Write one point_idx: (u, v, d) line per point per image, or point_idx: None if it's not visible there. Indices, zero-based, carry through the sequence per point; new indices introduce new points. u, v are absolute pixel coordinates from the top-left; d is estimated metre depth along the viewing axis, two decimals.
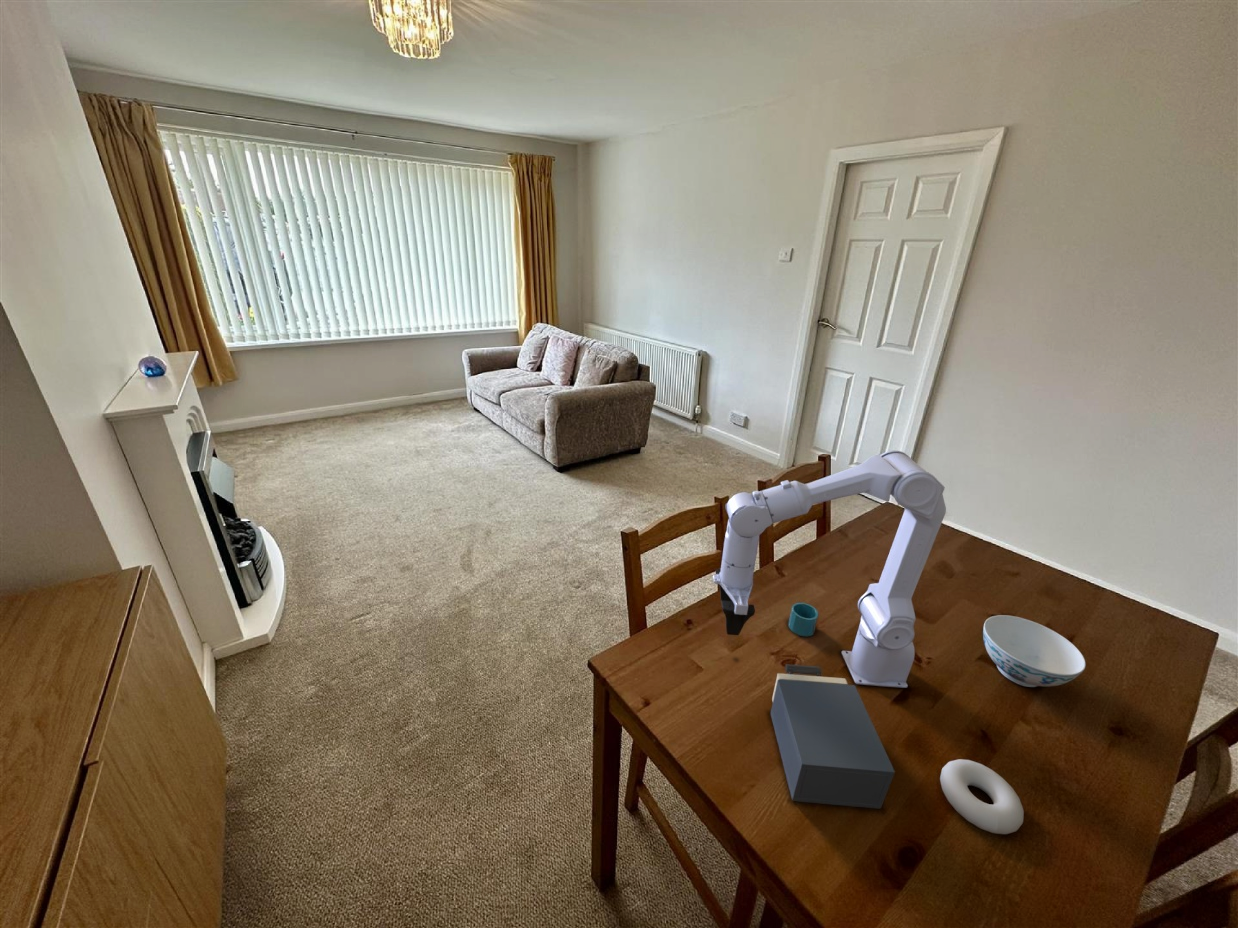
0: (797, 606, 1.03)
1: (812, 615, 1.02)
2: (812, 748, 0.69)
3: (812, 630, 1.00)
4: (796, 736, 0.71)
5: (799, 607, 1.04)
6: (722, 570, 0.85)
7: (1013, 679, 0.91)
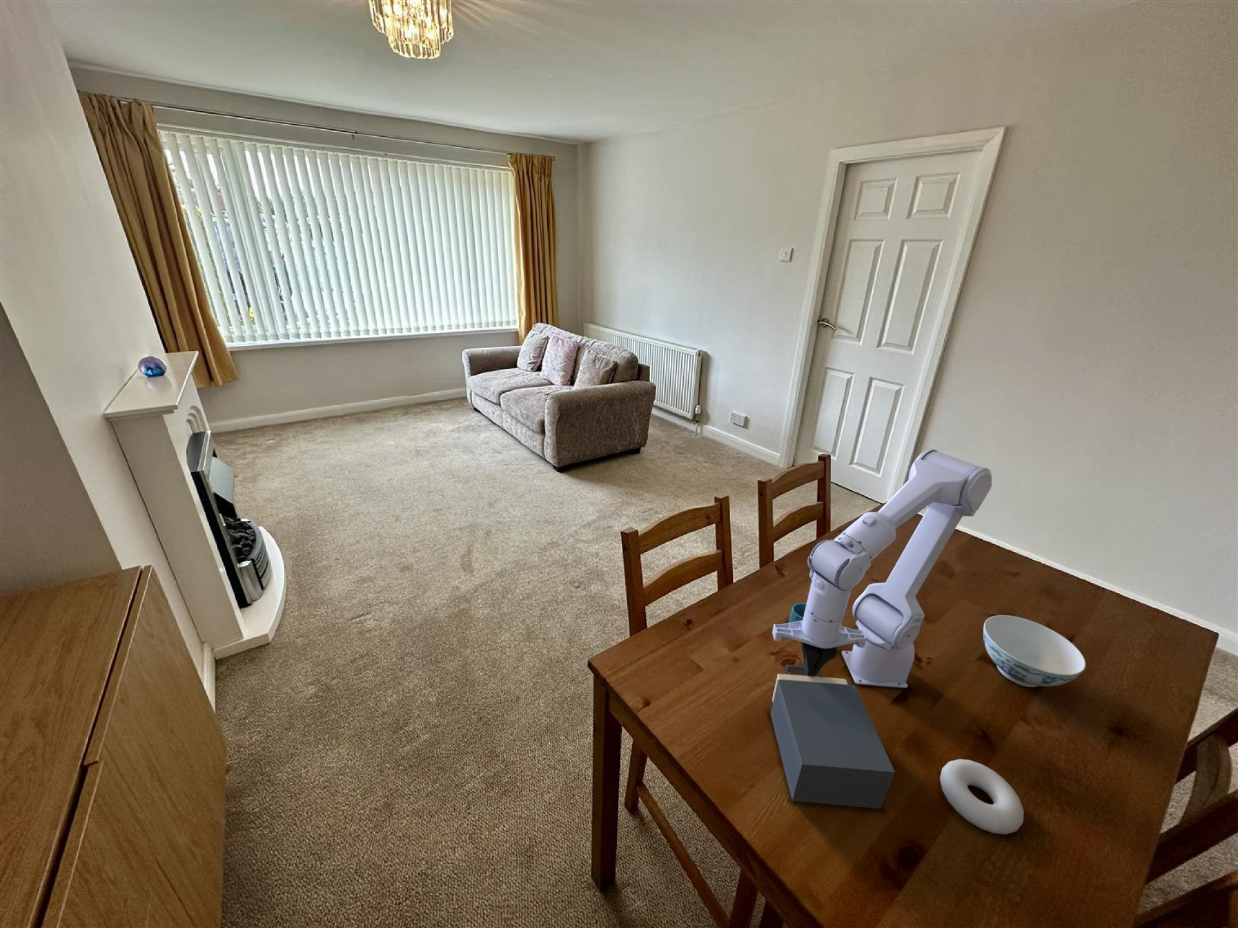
0: (797, 606, 1.03)
1: None
2: (812, 748, 0.69)
3: None
4: (796, 736, 0.71)
5: (799, 607, 1.04)
6: None
7: (1013, 679, 0.91)
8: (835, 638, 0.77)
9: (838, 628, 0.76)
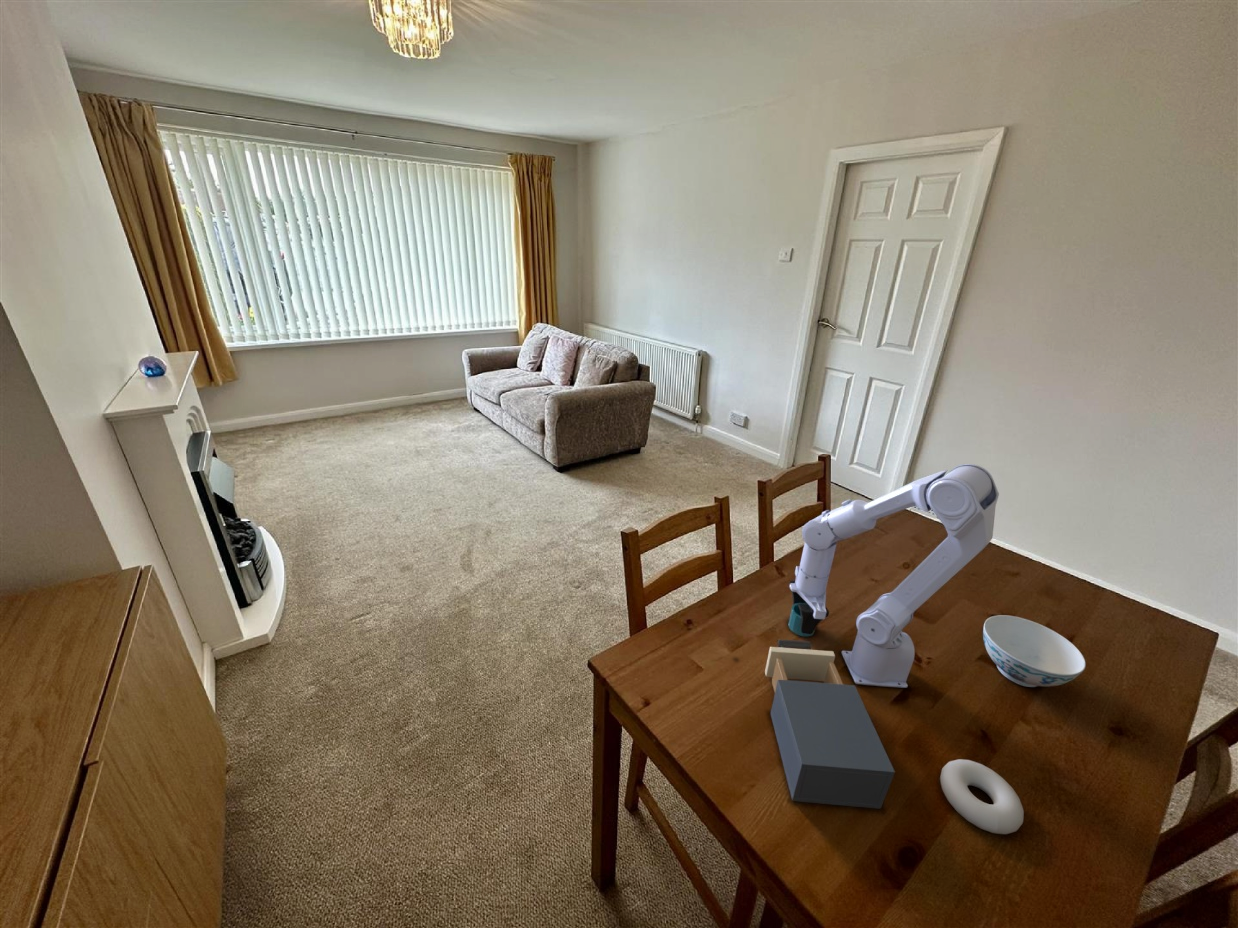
0: (797, 606, 1.03)
1: None
2: (812, 748, 0.69)
3: None
4: (796, 736, 0.71)
5: None
6: (799, 580, 0.97)
7: (1013, 679, 0.91)
8: None
9: None
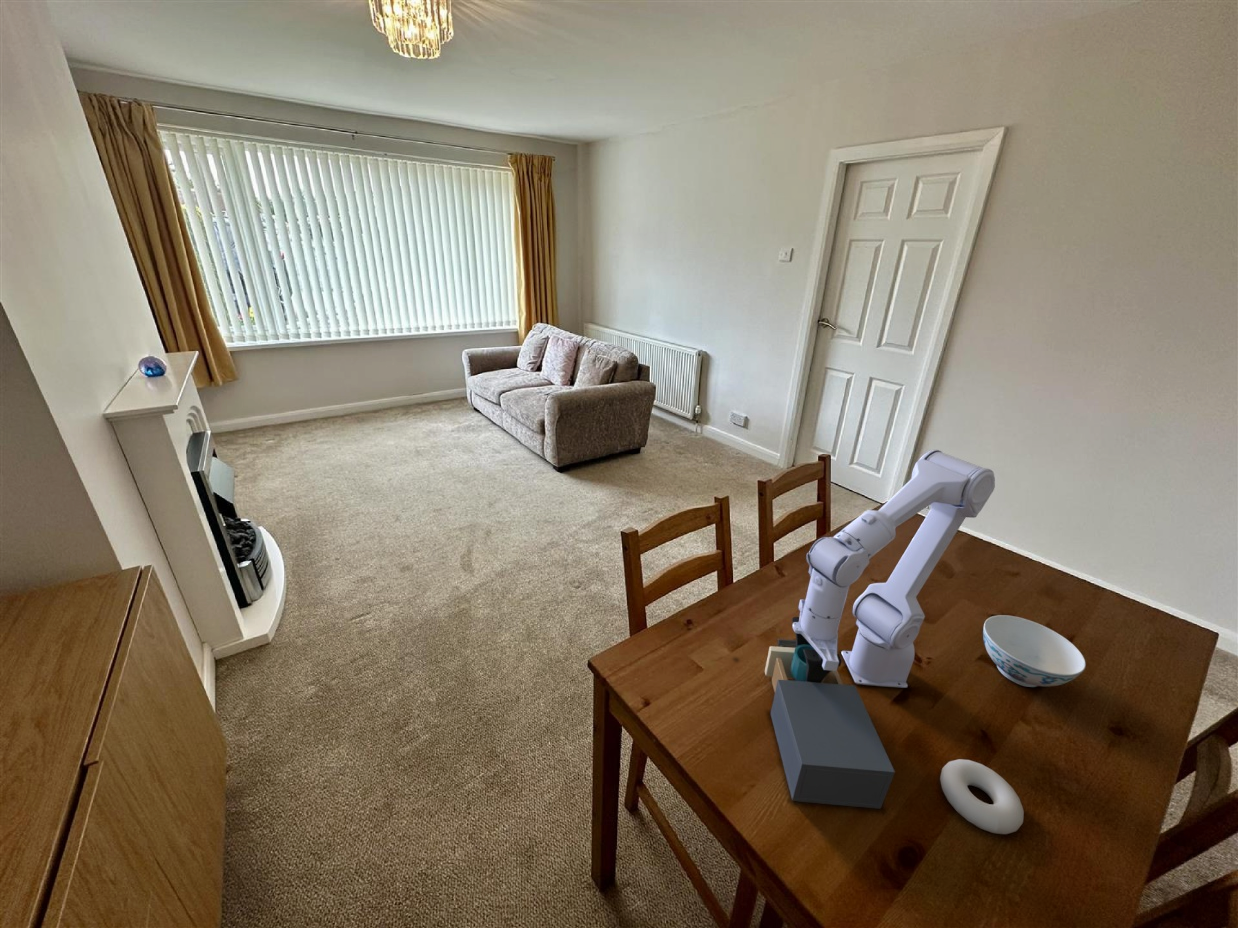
0: (801, 649, 0.85)
1: None
2: (812, 748, 0.69)
3: None
4: (796, 736, 0.71)
5: None
6: (805, 619, 0.79)
7: (1013, 679, 0.91)
8: None
9: None
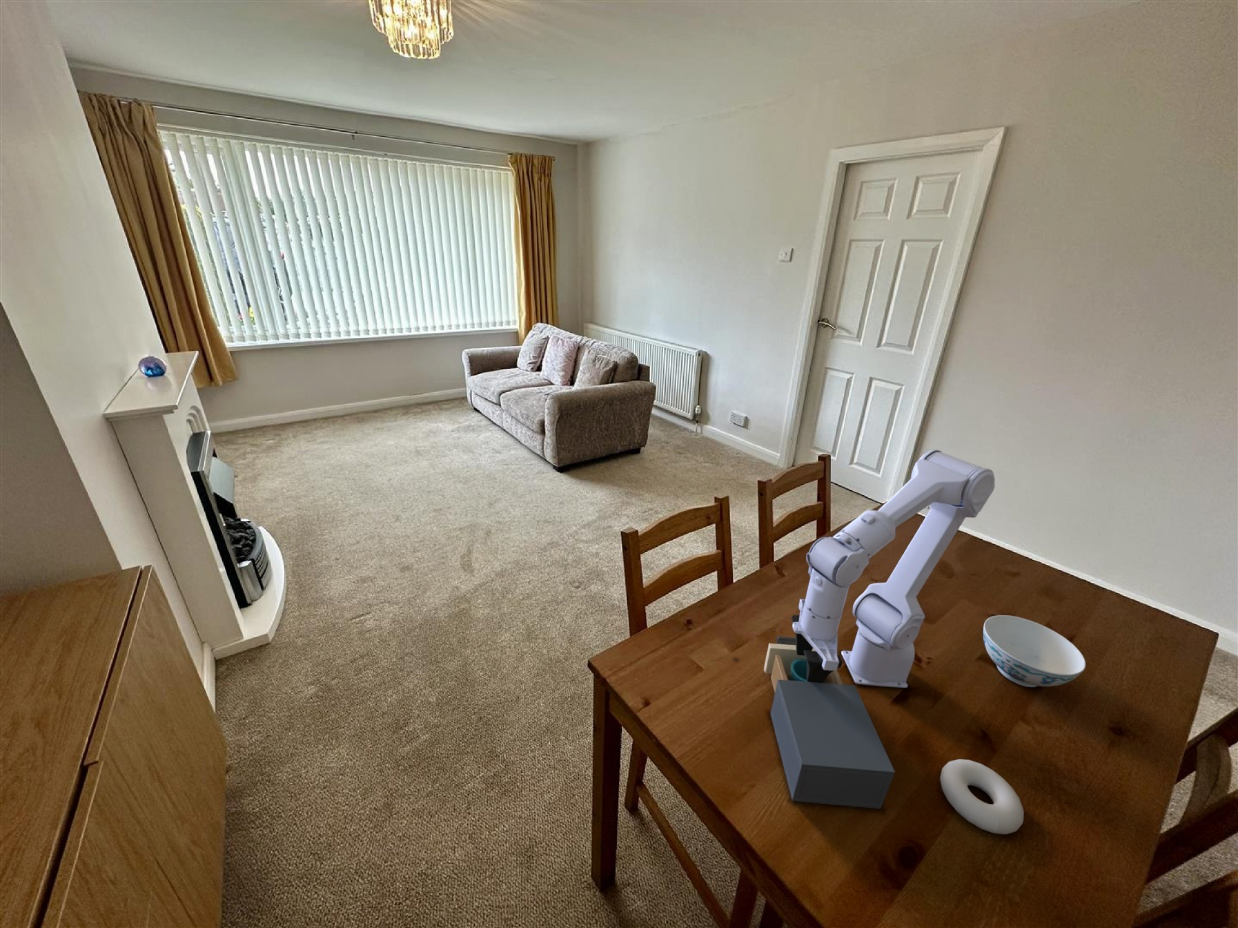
0: (797, 663, 0.86)
1: None
2: (812, 748, 0.69)
3: None
4: (796, 736, 0.71)
5: (800, 665, 0.86)
6: (805, 619, 0.79)
7: (1013, 679, 0.91)
8: None
9: None
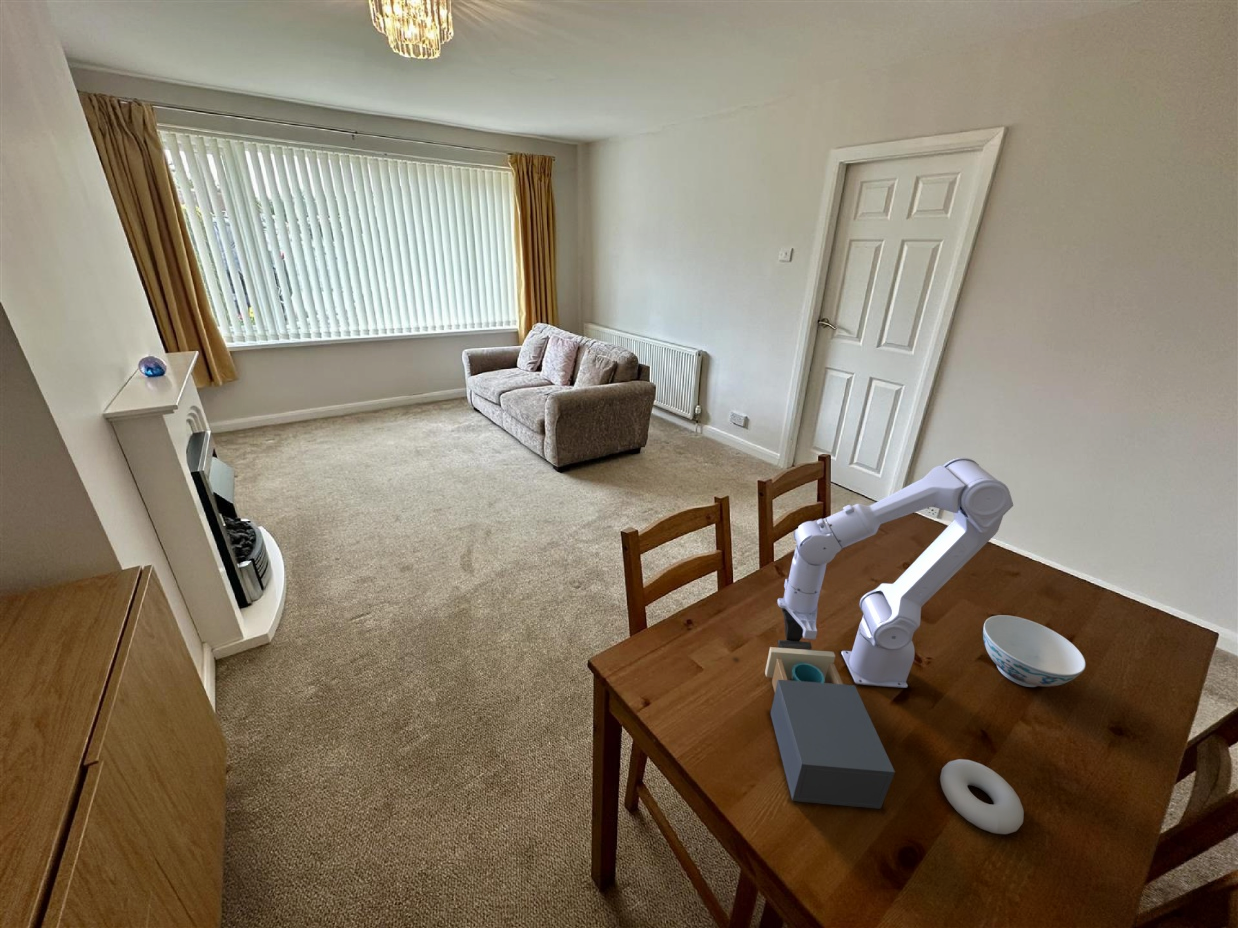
0: (799, 667, 0.85)
1: (817, 679, 0.84)
2: (812, 748, 0.69)
3: None
4: (796, 736, 0.71)
5: (802, 669, 0.86)
6: (788, 595, 0.88)
7: (1013, 679, 0.91)
8: None
9: None
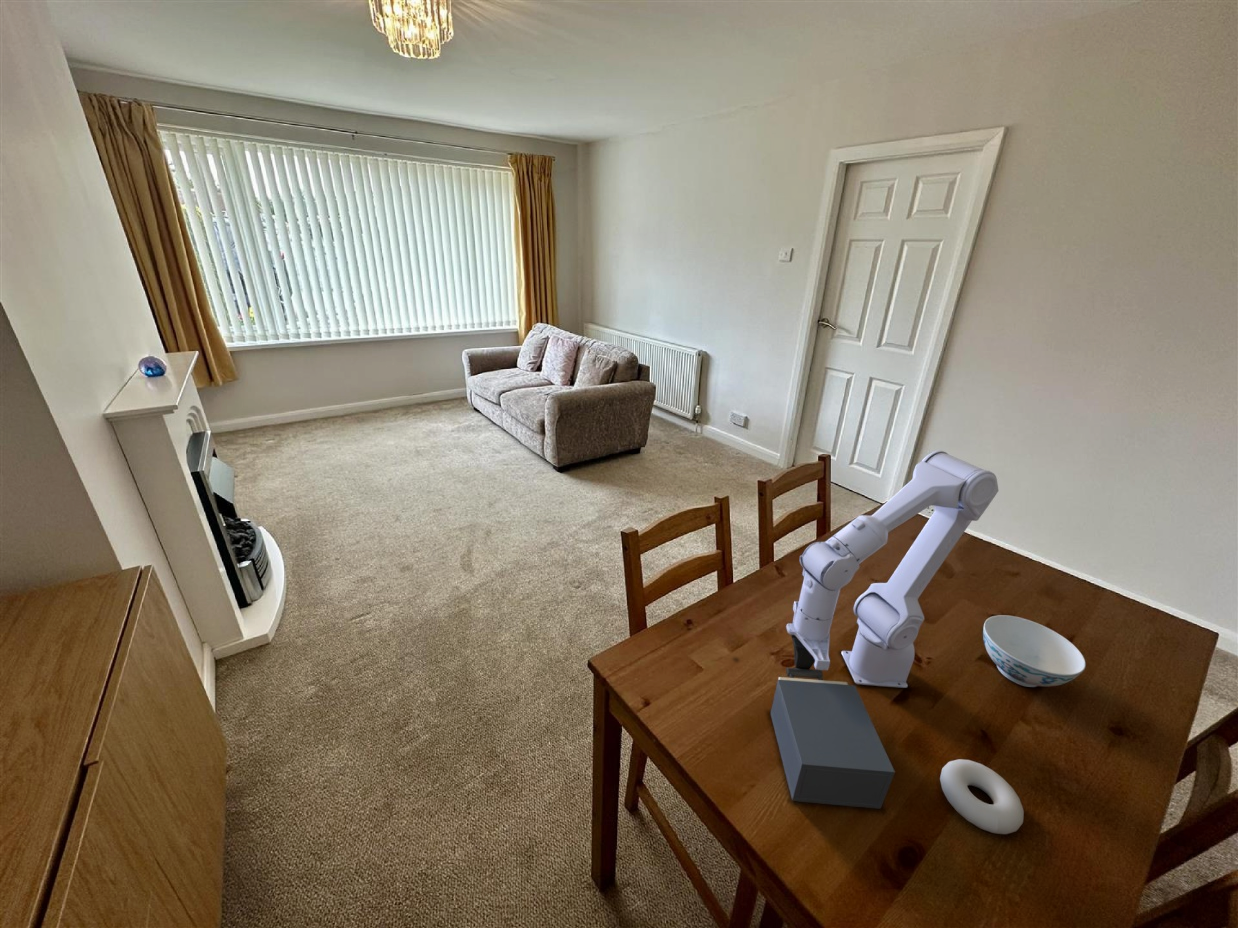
0: None
1: None
2: (812, 748, 0.69)
3: None
4: (796, 736, 0.71)
5: None
6: (798, 621, 0.82)
7: (1013, 679, 0.91)
8: None
9: None
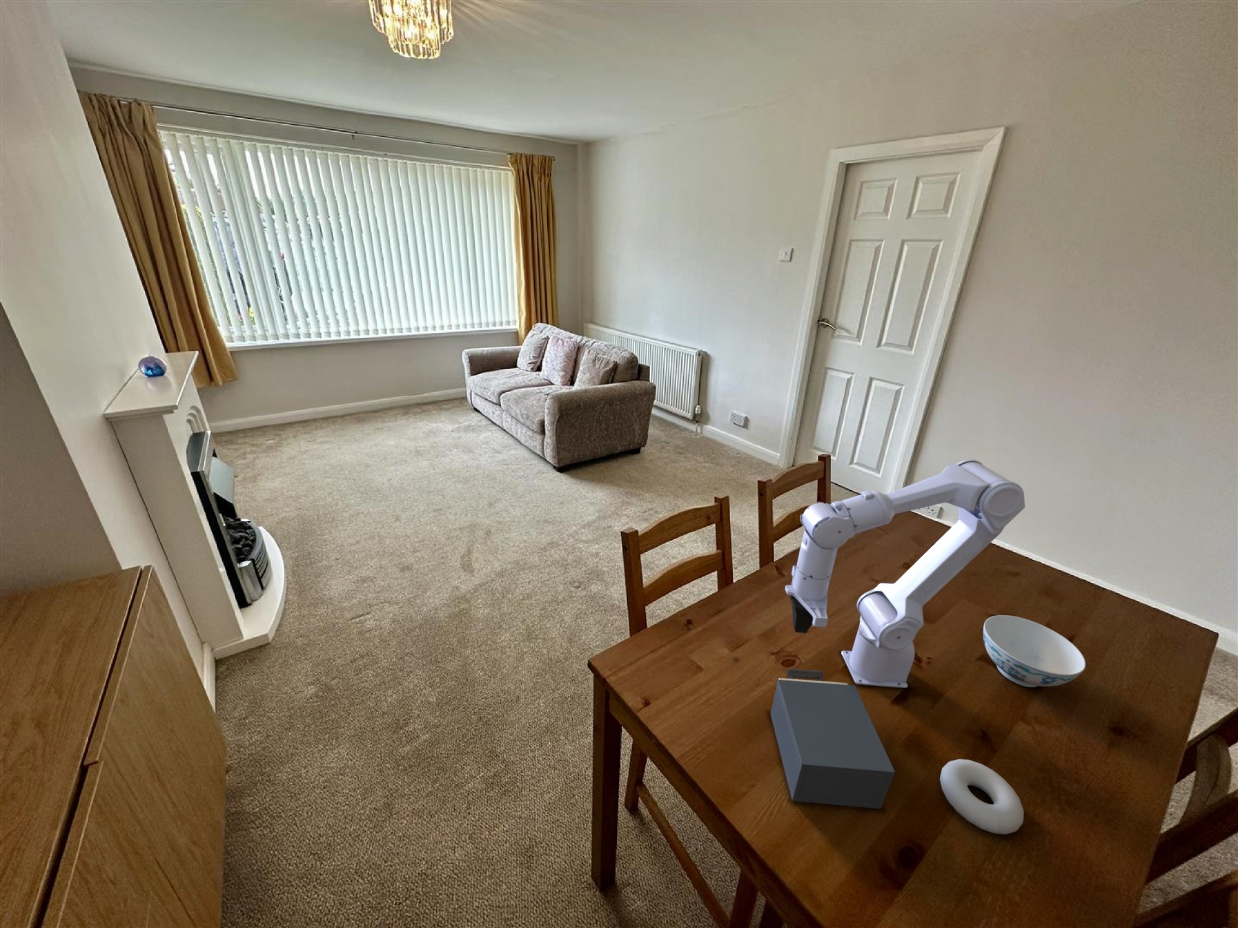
0: None
1: None
2: (812, 748, 0.69)
3: None
4: (796, 736, 0.71)
5: None
6: (796, 581, 0.84)
7: (1013, 679, 0.91)
8: None
9: None
